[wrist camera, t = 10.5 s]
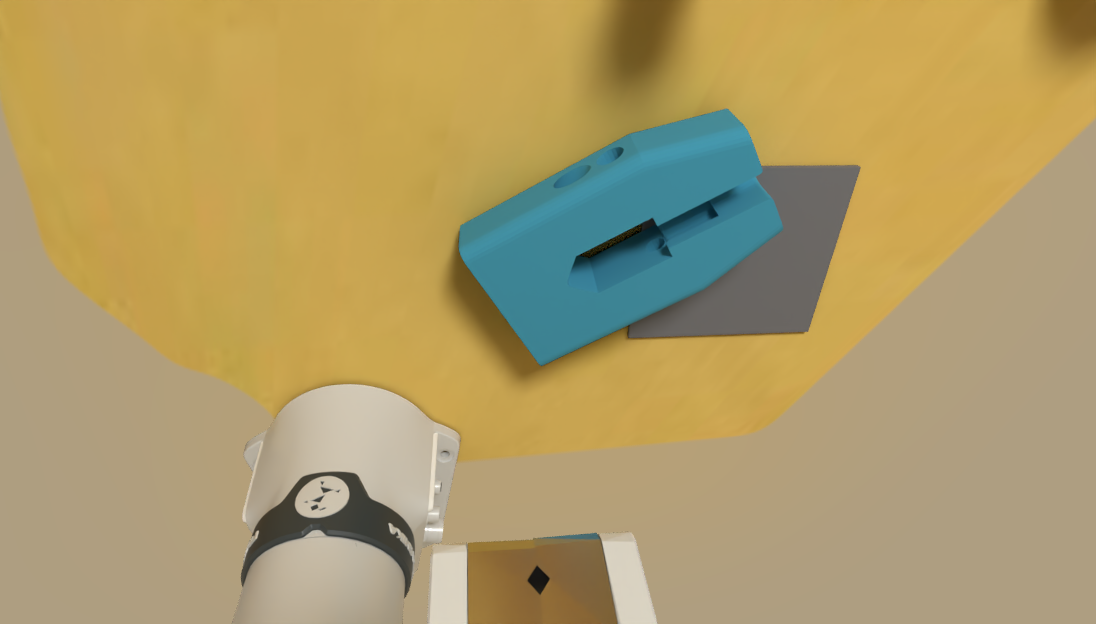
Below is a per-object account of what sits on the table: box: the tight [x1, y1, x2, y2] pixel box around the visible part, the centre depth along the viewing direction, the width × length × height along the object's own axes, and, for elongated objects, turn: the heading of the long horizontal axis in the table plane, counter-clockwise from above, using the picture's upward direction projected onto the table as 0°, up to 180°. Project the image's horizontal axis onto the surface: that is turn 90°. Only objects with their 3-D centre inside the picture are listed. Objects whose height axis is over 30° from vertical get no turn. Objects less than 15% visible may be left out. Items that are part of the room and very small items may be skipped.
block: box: [459, 109, 783, 366], centre depth 46 cm, size 12×5×20 cm
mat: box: [628, 165, 861, 338], centre depth 51 cm, size 15×16×1 cm
